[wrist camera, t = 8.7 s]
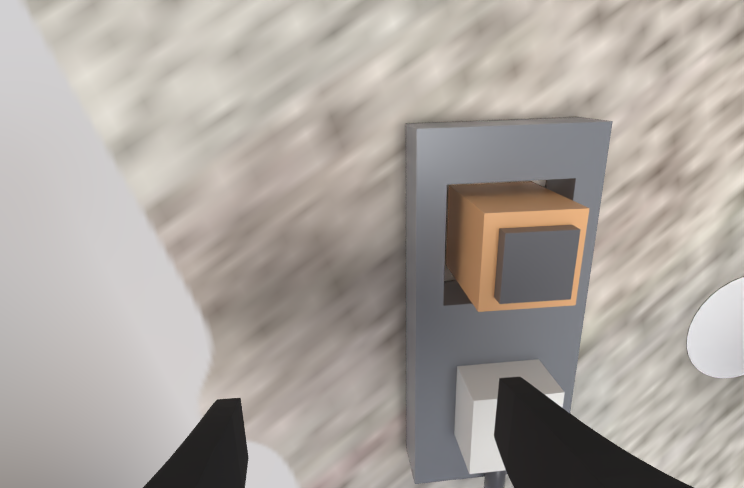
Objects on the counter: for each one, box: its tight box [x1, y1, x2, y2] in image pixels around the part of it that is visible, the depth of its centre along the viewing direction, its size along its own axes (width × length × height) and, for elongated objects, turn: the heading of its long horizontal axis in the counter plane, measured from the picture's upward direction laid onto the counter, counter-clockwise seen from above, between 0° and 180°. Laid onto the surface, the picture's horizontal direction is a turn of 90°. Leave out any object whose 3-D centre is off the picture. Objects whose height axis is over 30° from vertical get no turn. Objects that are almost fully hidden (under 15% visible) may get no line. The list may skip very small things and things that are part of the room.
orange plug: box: [446, 181, 590, 312], centre depth 19 cm, size 4×4×6 cm
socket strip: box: [406, 117, 612, 488], centre depth 21 cm, size 20×8×5 cm, turn 2°
